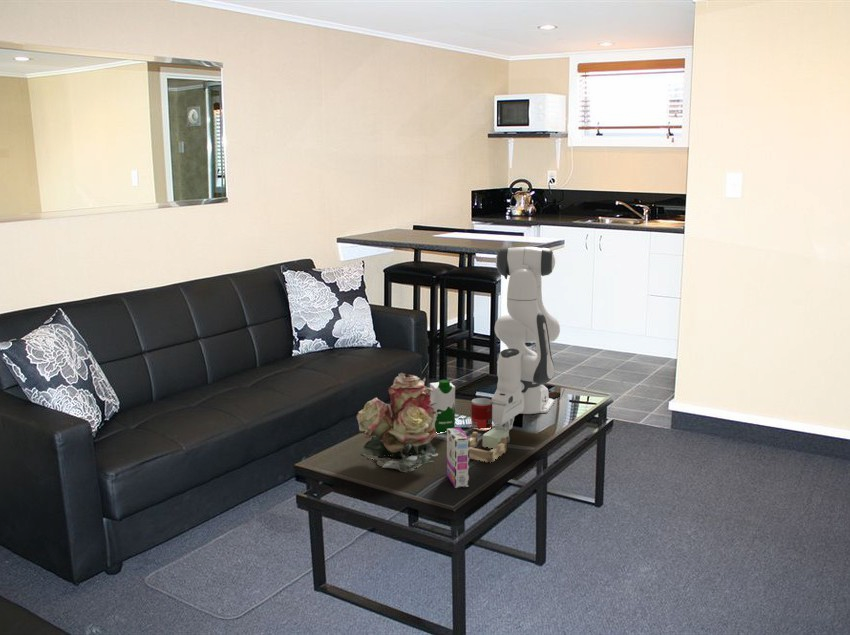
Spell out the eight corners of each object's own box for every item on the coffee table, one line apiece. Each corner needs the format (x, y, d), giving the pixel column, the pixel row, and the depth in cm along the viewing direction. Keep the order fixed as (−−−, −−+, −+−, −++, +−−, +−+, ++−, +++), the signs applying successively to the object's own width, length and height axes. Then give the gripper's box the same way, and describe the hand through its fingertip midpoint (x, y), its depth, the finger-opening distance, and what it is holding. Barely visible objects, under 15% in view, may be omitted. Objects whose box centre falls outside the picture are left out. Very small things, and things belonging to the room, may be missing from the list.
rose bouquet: (348, 457, 284) (345, 374, 278) (414, 437, 302) (413, 359, 295) (391, 480, 264) (389, 392, 258) (459, 458, 282) (459, 375, 275)
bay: (474, 444, 294) (474, 431, 293) (506, 451, 287) (506, 438, 286) (457, 455, 284) (457, 442, 283) (491, 463, 277) (491, 449, 276)
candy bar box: (470, 487, 258) (470, 438, 255) (455, 488, 257) (454, 440, 254) (460, 473, 269) (460, 426, 266) (446, 475, 268) (445, 427, 264)
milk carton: (435, 435, 304) (435, 384, 299) (428, 427, 312) (427, 377, 308) (457, 432, 306) (457, 381, 302) (449, 424, 315) (449, 375, 310)
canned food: (491, 432, 306) (491, 404, 304) (469, 431, 308) (469, 403, 305) (493, 425, 313) (493, 398, 311) (472, 424, 315) (472, 397, 312)
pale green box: (492, 438, 300) (492, 424, 299) (510, 442, 296) (510, 427, 295) (481, 446, 292) (481, 431, 291) (499, 450, 289) (499, 435, 287)
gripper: (513, 385, 308) (512, 420, 311) (489, 399, 291) (489, 436, 294) (528, 387, 305) (527, 422, 308) (505, 401, 288) (504, 439, 291)
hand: (508, 429), depth 301 cm, fingers closed
